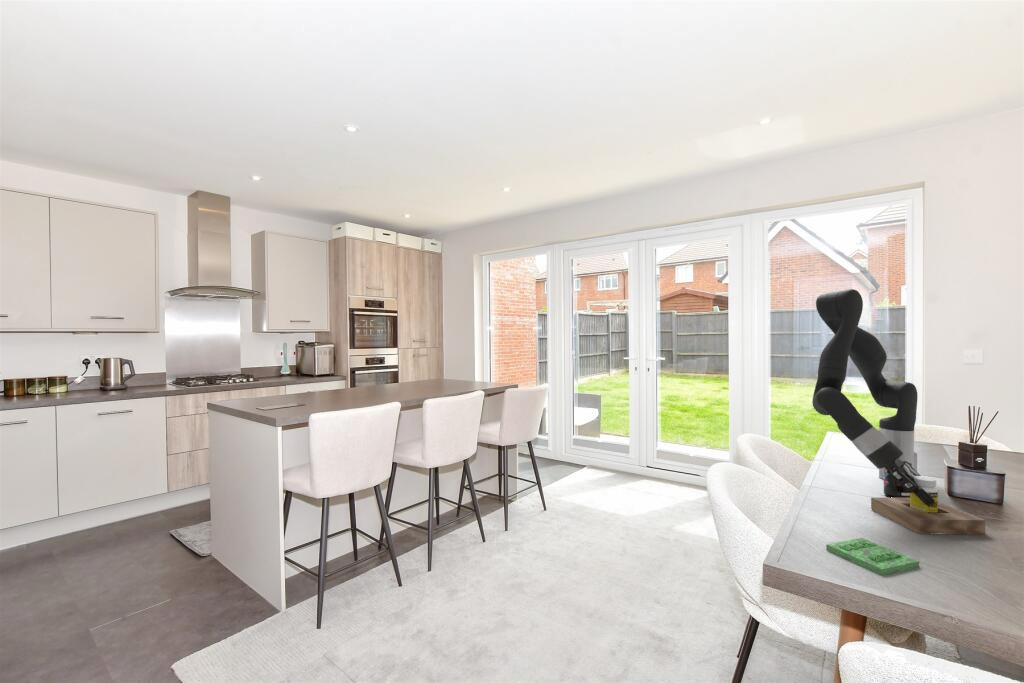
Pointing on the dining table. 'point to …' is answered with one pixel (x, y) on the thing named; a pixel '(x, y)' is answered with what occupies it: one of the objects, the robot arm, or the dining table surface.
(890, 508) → the walnut pocket block
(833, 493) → the dining table surface
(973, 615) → the dining table surface
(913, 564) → the green jade tablet
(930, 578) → the dining table surface
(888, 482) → the supplement container
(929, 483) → the supplement bottle
